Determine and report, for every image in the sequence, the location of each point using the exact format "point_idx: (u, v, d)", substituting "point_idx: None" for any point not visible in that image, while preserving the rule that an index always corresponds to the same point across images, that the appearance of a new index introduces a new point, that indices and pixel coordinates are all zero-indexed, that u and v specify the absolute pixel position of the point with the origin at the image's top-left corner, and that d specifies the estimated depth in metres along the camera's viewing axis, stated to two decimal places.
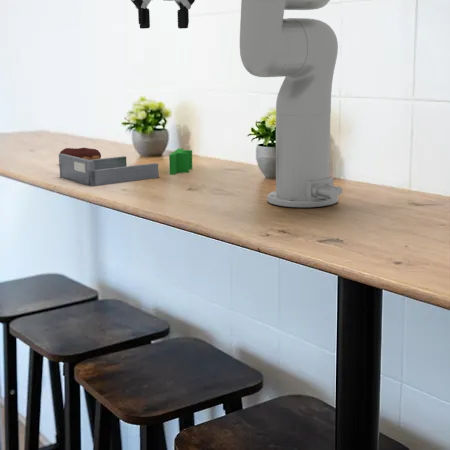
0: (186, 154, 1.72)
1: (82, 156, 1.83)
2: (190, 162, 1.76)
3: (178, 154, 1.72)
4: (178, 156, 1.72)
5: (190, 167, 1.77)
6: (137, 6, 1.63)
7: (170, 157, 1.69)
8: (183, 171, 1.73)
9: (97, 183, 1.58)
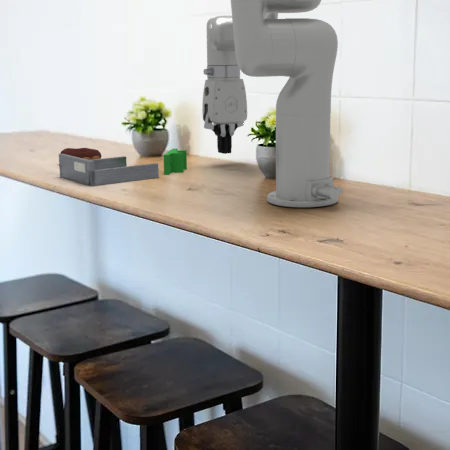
0: (180, 154, 1.72)
1: (83, 156, 1.83)
2: (184, 162, 1.77)
3: (172, 154, 1.72)
4: (172, 156, 1.72)
5: (184, 167, 1.77)
6: (217, 134, 1.80)
7: (165, 157, 1.69)
8: (177, 171, 1.73)
9: (97, 183, 1.58)
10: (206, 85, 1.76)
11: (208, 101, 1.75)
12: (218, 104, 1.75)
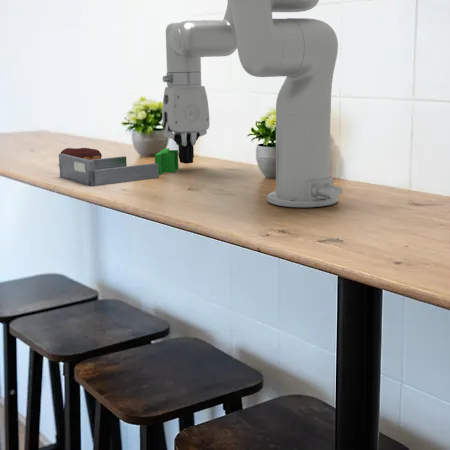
0: (172, 154, 1.72)
1: (83, 156, 1.83)
2: (176, 162, 1.77)
3: (164, 154, 1.72)
4: (164, 156, 1.72)
5: (176, 167, 1.77)
6: (178, 143, 1.74)
7: (156, 157, 1.69)
8: (169, 171, 1.73)
9: (97, 183, 1.58)
10: (165, 93, 1.70)
11: (167, 109, 1.69)
12: (178, 113, 1.69)
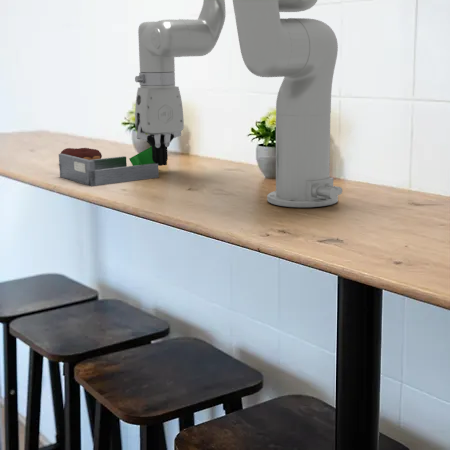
0: (145, 151, 1.71)
1: (83, 156, 1.83)
2: None
3: (138, 154, 1.71)
4: (139, 156, 1.71)
5: None
6: (151, 145, 1.70)
7: (131, 160, 1.69)
8: None
9: (97, 183, 1.58)
10: (138, 93, 1.66)
11: (140, 110, 1.65)
12: (151, 114, 1.65)
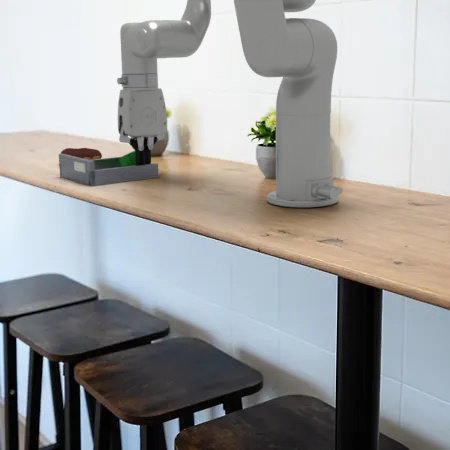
0: None
1: (83, 156, 1.83)
2: None
3: (129, 155, 1.70)
4: (129, 156, 1.70)
5: None
6: (134, 148, 1.67)
7: (120, 160, 1.68)
8: None
9: (97, 183, 1.58)
10: (120, 95, 1.63)
11: (122, 112, 1.63)
12: (133, 116, 1.62)
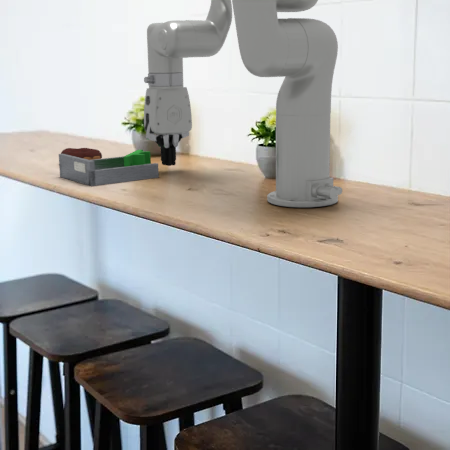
0: (142, 155, 1.71)
1: (84, 156, 1.83)
2: (148, 163, 1.75)
3: (134, 155, 1.71)
4: (134, 157, 1.71)
5: None
6: (160, 145, 1.71)
7: (125, 159, 1.68)
8: None
9: (97, 183, 1.58)
10: (147, 94, 1.67)
11: (149, 111, 1.66)
12: (160, 114, 1.66)
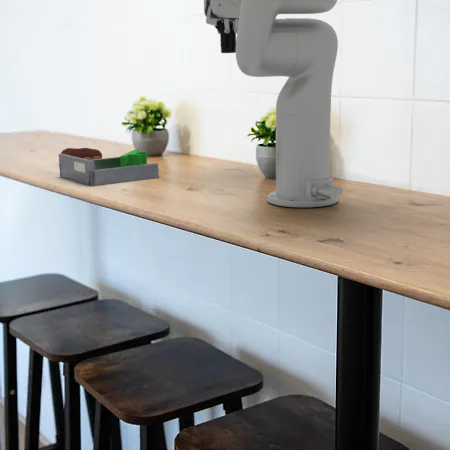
0: (138, 155, 1.71)
1: (84, 156, 1.82)
2: (144, 163, 1.75)
3: (130, 155, 1.71)
4: (130, 157, 1.71)
5: None
6: (220, 31, 1.64)
7: (121, 159, 1.68)
8: None
9: (97, 183, 1.58)
10: None
11: None
12: None
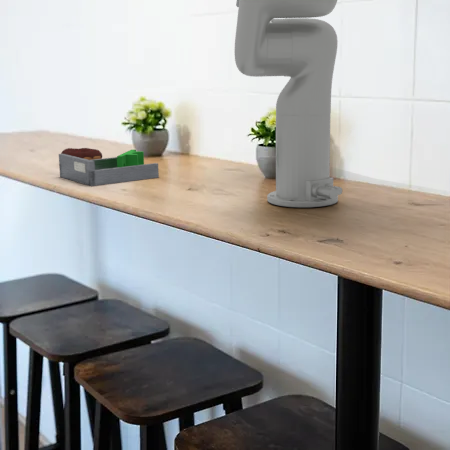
0: (135, 155, 1.71)
1: (84, 156, 1.82)
2: (141, 163, 1.76)
3: (127, 155, 1.71)
4: (127, 157, 1.71)
5: None
6: None
7: (118, 159, 1.69)
8: None
9: (97, 183, 1.58)
10: None
11: None
12: None
